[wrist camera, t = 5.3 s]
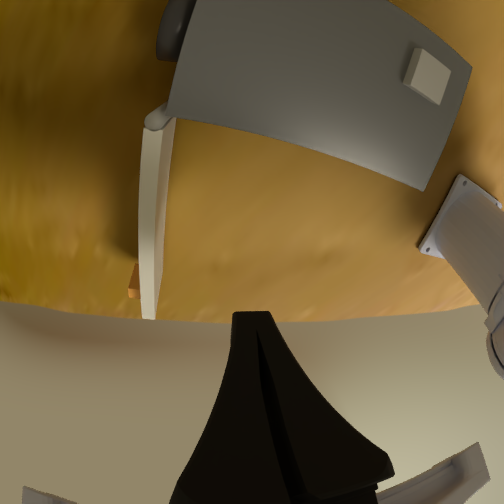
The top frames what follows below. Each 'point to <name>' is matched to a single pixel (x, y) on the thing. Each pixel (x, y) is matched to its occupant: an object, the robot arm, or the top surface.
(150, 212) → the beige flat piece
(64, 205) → the top surface
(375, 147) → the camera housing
